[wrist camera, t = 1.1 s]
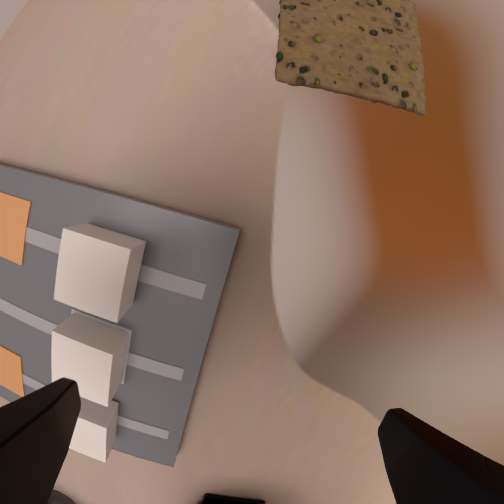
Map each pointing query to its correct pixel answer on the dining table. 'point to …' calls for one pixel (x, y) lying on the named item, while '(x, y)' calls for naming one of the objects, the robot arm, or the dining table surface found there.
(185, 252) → the switch panel
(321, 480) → the dining table surface
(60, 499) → the beverage cup
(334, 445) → the dining table surface
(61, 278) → the slider near
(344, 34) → the speckled tan slab
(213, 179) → the dining table surface
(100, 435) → the slider far
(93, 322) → the slider middle
